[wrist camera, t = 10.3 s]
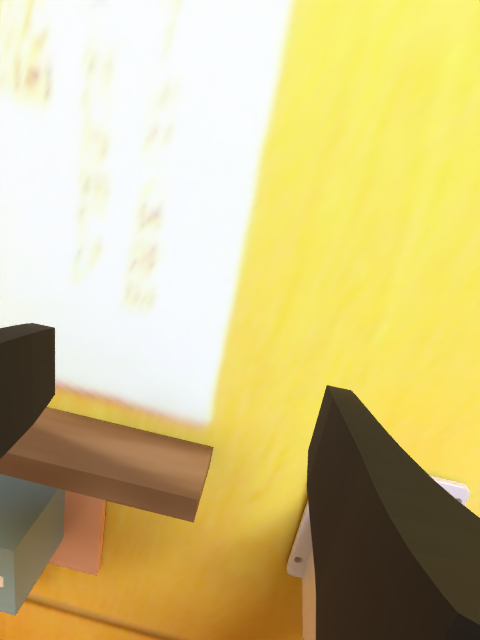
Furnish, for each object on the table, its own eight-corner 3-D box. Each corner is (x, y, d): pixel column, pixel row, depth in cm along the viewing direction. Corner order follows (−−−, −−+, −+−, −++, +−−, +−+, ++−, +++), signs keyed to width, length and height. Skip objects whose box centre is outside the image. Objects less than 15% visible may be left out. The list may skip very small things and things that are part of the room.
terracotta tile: (100, 567, 29) (96, 575, 28) (-36, 532, 29) (-42, 539, 29) (110, 453, 25) (106, 460, 24) (-46, 415, 26) (-53, 421, 25)
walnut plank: (209, 467, 24) (193, 522, 21) (-78, 397, 25) (-142, 438, 22) (213, 447, 24) (197, 499, 20) (-80, 376, 25) (-146, 414, 21)
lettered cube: (63, 538, 27) (14, 616, 23) (-9, 519, 28) (-72, 593, 23) (65, 479, 25) (12, 552, 21) (-12, 460, 26) (-81, 527, 21)
